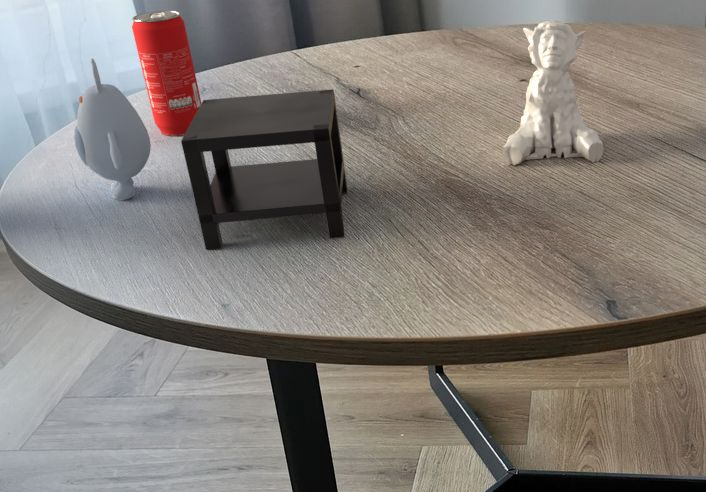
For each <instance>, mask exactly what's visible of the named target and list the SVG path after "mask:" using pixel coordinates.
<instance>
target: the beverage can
mask: <svg viewBox="0 0 706 492" xmlns="http://www.w3.org/2000/svg"><path fill="white" fill-rule="evenodd" d="M131 20H132V26H131V30H132V33H133V37H134V42H135V46H136V51H137V55H138V59H139V62H140V66H141V67H140V68H141V71H142V75H143V79H144V83H145V88H146V91H147V97H148V101H149V104H150V109H151V113H152V118H153V121H154V124H155V126H156V127H157V128H158V129H159V131H160V133H161V134H162V135H163V136H168V137H179V136H184V135H185V133H186V131H187V129H188V128H189V126H190V124H191V122H192V120H193V118H194V116H195V115H196V113H197V111H198V109H199V107H200V105H201V104H202V100H201V95H200V90H199V85H198V81H197V76H196V72H195V71H196V70H195V67H194V62H193V58H192V53H191V48H190V42H189V39H188V33H187V29H186V25H185V21H184V19H183V18H182V17H181V12H179V11H177V10H155V11H149V12H148V11H147V12H144V13H140V14H136V15H134V16H133V17H132V19H131Z"/></svg>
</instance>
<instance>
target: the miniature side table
mask: <svg viewBox="0 0 706 492" xmlns="http://www.w3.org/2000/svg"><path fill="white" fill-rule="evenodd" d="M335 96H336V95H335V90H334V89H320V90H310V91H309V90H307V91H295V92H283V93H272V94H261V95H247V96H235V97H234V96H233V97H224V98H212V99H203V100H202V101H201V105H200V107H199V109H198V111H197V113H196V115H195V116H194V118H193V120H192V122H191V124H190V126H189V128H188V129H187V131H186V133H185V135H183V137H182V138H181V141H180V143H181V146H182V152H183V155H184V161H185V164H186V169H187V172H188V173H187V174H188V177H189V181H190V185H191V190H192V195H193V199H194V203H195V208H196V213H197V217H198V222H199V225H200V230H201V235H202V239H203V243H204V247H205V250H206V251H209V250H220V249H222V246H223V236H222V233H221V228H220V224H222V223H234V222H244V221H255V220H264V219H265V220H266V219H267V220H268V219H277V218H289V217H299V216H310V215H322V214H325V219H326V224H327V226H326V227H327V232H328V238H329V239H330V240H331V239H339V238H340V239H341V238H345V235H346V234H345V233H346V231H345V223H344V217H343V210H342V200H343V199H342V198H343V194H347V193H348V182H347V176H346V168H345V167H346V166H345V162H344V155H343V147H342V139H341V133H340V132H341V131H340V126H339V117H338V111H337V103H336V97H335ZM311 143H314V147H315V148H314V149H315V154H316V158H312V159H301V160H290V161H278V162H277V161H276V162H268V163H267V162H265V163H255V164H243V165H232V164H231V159H230V154H229V150H240V149H241V150H242V149H253V148H264V147H265V148H266V147H276V146H289V145H297V144H298V145H300V144H311ZM205 152H211V158H212V161H213V166H214V170H215V173H214V175H213V178H212V180H211V182H210V178H209V173H208V167H207V163H206V159H205V154H204V153H205Z"/></svg>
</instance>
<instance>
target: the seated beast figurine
mask: <svg viewBox="0 0 706 492" xmlns="http://www.w3.org/2000/svg"><path fill="white" fill-rule="evenodd" d="M522 31H523V33H524V35H525V37H526V39H527V41H528V43H529V45H528V47H527V51H528V52H529V58H530V60H531V64H532V65H534V66H535V68H537V69H536V70H534V72H533V74H532V76H531V78H530V79H529V84H528V86H527V88H526V91H525V98H526V99H525V100H526V101H525V105H524V106H525V107H524V109H523V115H522V116H521V117H520V122H519V124H520V126H519V128H518V129H517V130H516V131H515V132H514V133H512V134H510V135H509V136H508V137H507V141H506V142H505V144H504V145H503V147H502V149H501V153H500V154H501V158H502V160H503V161H504V162H505V164H507V165H512V166H514V167H515V166H517V165H521V164H522V163H523V162H524V161H529V160H542V159H544V157H546V159H547V160H548V159H550V158H551V157H557V158H558V159H561V158H562V155H563V157H564V159H568V158H584V159H586V160H587V161H588V162H591V163H598V162H600V160H602V159H601V158H602V157H603V155H604V151H605V150H604V144H603V141H602V140H601V139H600V136H599V134H598V133H597V132H596V131H595V130H594V129H592V128H591V127H588V125H586V123H585V120H584V119H583V118H582V116H581V110H580V108H579V105H578V103H577V99H578V98H577V92H576V89H575V86H576V85H575V84H574V81H573V78H571V77H570V73H569V72H568V71H569V68H570V66H571V65H572V63H573V62H575V61H576V60H577V59H578V53H577V52H578V50H579V49H580V47H581V45H582V42H583V38H584V36H585V34H586V33H587V30H582V31H580V32H578V33H576V32H574V31H573V28H572V26H571V25H570V24H568V23H564V22H562V21H561V20H558V19H552V20H548V19H547V20H546V21H545V20H544V21H543V22H539V23H538V24H537V26H535V27H534V29H531V28H529V27H523V28H522ZM552 150H555V153H552Z"/></svg>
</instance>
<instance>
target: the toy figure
mask: <svg viewBox="0 0 706 492" xmlns="http://www.w3.org/2000/svg"><path fill="white" fill-rule="evenodd" d="M90 66H91V71H92V77H93V81H94V84H95V85H91V86H89V87H87V88H85V89H84V91H83V92H82V94H81V95H80V97H79V98H78V101H79V106H78V110H77V115H76V125H75V128H74V136H73V137H74V144H75V149H76V151H77V153H78V156H79V158H80V159H81V161H82V163H83V164H84V165H85V166H86V167H88V168H89V169H90V171H92V172H93V173H95V174H96V175H98V176H99V177H101V178H103V179H106V180H108V181H113V182H112V183H111V185H110V188H111V190H112V192H111V193H112V194H111V195H112V198H114V199H115V200H117V201H126V200H129V199H131V198H132V197H133V196H134V195H135V193H136V186H135V185H134V183H135V182H134V179H133V178H134V177H136V176H138V175H139V174H140V172H142V170H143V169H144V168H145V167H146V165H147V163H148V160H149V158H150V154H151V149H152V148H151V146H152V145H151V138H150V135H149V132H148V130H147V127H146V125H145V123H144V121H143V120H142V118H141V117H140V115H139V113H138V111H137V110H136V109H135V107H134V106H133V104H132V103H131V102H130V101H129V99H128V98H127V97H126V96H125V95H124V93H123V92H122V91H121V90H120V89H119V88H118V87H117V86H115V85H113V84H107V83H101V82H102V81H101V76H100V72H99V69H98V66H97V63H96V61H95V59H94V58H90Z"/></svg>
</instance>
